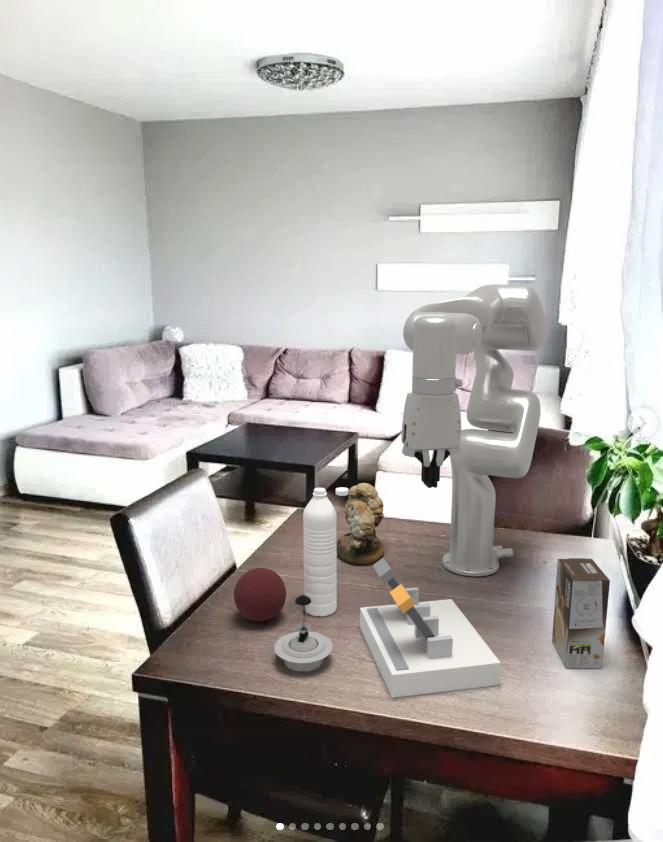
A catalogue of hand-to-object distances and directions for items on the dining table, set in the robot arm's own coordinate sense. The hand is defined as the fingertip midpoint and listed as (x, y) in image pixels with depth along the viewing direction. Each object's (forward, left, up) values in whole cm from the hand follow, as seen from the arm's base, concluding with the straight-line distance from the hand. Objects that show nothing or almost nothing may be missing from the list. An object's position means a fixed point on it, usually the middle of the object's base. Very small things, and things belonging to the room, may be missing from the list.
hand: (430, 485), depth 123 cm
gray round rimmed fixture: (+25, +9, -27) cm, 38 cm away
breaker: (+4, +4, -22) cm, 23 cm away
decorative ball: (+31, -7, -27) cm, 42 cm away
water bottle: (+18, -8, -27) cm, 34 cm away
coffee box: (-22, +16, -27) cm, 39 cm away
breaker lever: (+4, +15, -22) cm, 27 cm away
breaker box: (+4, +11, -27) cm, 30 cm away
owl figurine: (+5, -35, -27) cm, 45 cm away
